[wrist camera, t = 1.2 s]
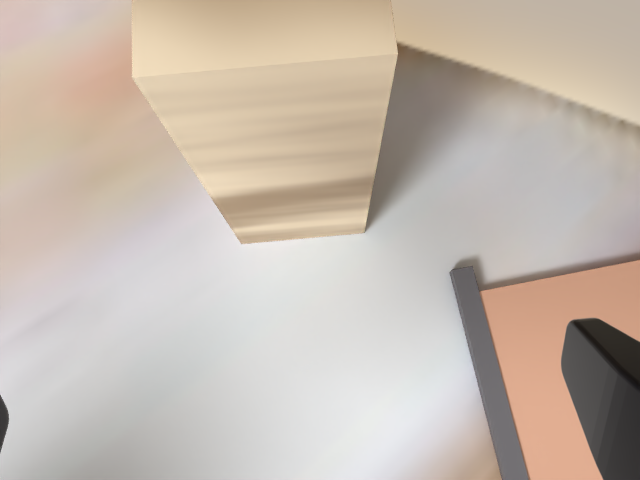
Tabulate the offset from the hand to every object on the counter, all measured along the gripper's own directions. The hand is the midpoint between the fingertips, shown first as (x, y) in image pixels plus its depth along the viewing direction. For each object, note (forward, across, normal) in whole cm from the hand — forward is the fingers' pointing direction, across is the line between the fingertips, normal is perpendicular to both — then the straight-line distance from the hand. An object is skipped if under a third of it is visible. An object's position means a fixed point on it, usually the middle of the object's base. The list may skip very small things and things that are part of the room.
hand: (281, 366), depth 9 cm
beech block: (+15, 0, +4) cm, 16 cm away
